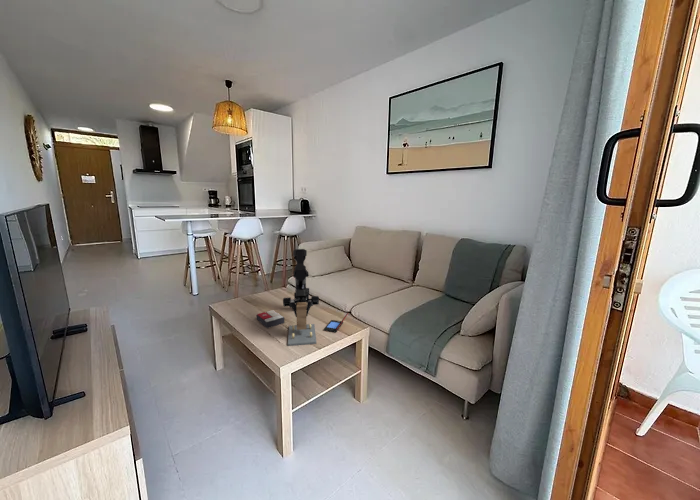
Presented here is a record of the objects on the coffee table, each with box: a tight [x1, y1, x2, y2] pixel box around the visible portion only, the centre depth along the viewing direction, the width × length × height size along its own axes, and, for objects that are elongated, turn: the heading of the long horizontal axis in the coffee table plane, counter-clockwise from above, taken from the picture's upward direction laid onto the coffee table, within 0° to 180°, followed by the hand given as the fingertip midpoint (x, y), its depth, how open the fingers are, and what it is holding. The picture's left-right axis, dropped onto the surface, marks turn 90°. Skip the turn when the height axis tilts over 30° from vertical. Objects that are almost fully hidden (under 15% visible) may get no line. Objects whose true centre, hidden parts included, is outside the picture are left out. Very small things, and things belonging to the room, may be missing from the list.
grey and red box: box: [256, 309, 286, 329], centre depth 170 cm, size 11×4×15 cm
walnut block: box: [296, 302, 307, 330], centre depth 152 cm, size 5×5×13 cm
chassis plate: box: [287, 323, 317, 347], centre depth 153 cm, size 20×14×4 cm
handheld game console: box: [323, 312, 349, 334], centre depth 162 cm, size 12×11×7 cm
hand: (301, 316), depth 150 cm, fingers closed on walnut block, 5 cm apart
